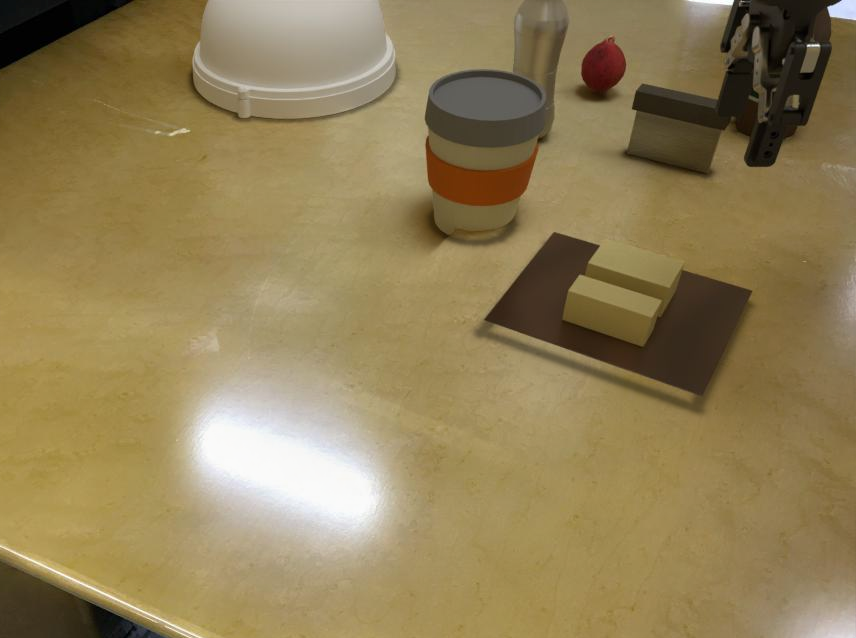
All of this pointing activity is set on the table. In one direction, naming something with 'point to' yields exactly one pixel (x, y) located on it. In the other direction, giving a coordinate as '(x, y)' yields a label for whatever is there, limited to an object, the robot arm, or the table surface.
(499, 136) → the reusable coffee cup
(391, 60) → the dome cover
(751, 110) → the beer bottle
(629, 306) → the butter slice
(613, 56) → the pomegranate
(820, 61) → the robot arm
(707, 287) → the cutting board
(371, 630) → the table surface
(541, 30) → the plastic bottle
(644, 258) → the butter block
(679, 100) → the bench scraper
